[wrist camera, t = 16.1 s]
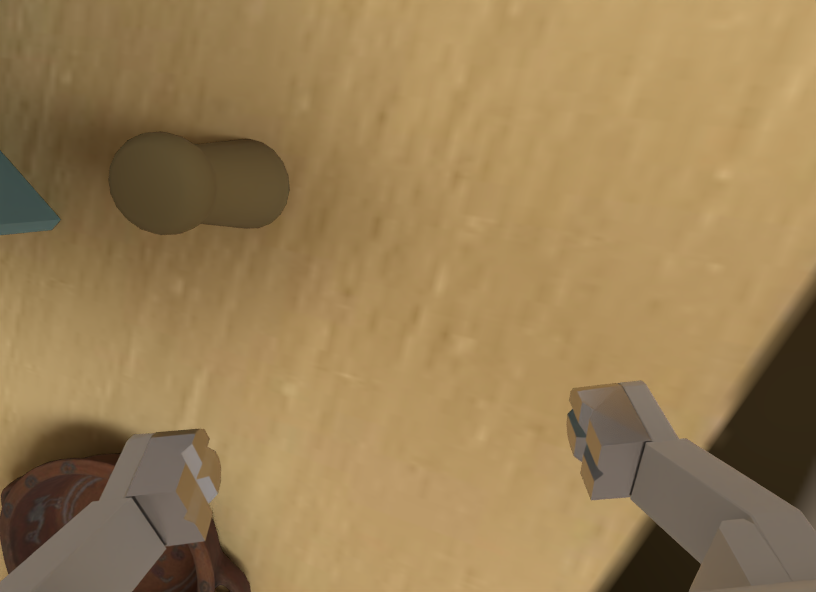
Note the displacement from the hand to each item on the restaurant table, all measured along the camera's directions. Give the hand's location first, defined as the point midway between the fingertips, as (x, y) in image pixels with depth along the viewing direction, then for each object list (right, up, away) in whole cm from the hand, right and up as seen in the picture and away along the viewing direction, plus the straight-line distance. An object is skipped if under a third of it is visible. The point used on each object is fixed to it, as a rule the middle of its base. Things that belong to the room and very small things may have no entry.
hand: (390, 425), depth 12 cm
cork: (-11, +11, +25) cm, 29 cm away
